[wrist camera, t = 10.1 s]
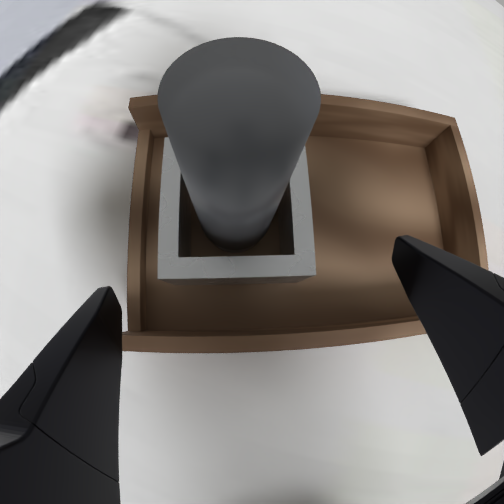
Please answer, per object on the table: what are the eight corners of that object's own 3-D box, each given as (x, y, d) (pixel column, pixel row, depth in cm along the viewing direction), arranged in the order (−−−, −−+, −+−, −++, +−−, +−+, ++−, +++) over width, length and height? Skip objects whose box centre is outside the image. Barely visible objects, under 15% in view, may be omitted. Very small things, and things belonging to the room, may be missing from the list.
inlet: (297, 282, 19) (316, 274, 15) (174, 285, 19) (157, 278, 14) (290, 169, 20) (303, 135, 16) (177, 171, 20) (164, 137, 16)
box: (452, 320, 20) (491, 319, 15) (137, 341, 18) (111, 350, 14) (426, 143, 22) (454, 117, 18) (146, 133, 21) (130, 97, 16)
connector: (254, 265, 19) (295, 182, 6) (193, 242, 19) (128, 130, 6) (275, 206, 20) (334, 63, 7) (216, 186, 20) (200, 26, 7)
